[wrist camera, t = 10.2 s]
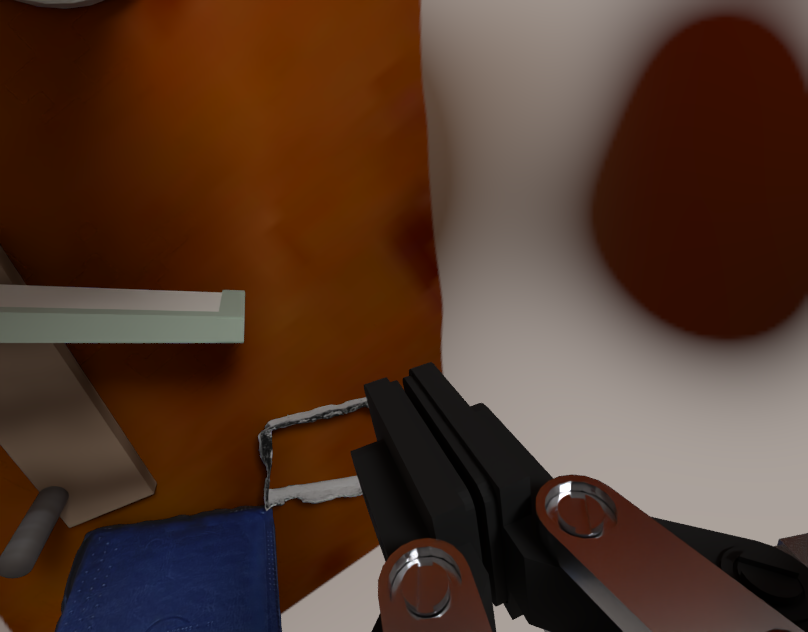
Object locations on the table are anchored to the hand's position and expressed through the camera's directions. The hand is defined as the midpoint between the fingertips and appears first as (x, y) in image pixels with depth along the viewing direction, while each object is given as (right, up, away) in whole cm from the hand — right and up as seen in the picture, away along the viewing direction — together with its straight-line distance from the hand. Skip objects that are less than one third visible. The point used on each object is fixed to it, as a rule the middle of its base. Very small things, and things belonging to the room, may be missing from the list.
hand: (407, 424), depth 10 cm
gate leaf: (-18, +4, +17) cm, 25 cm away
